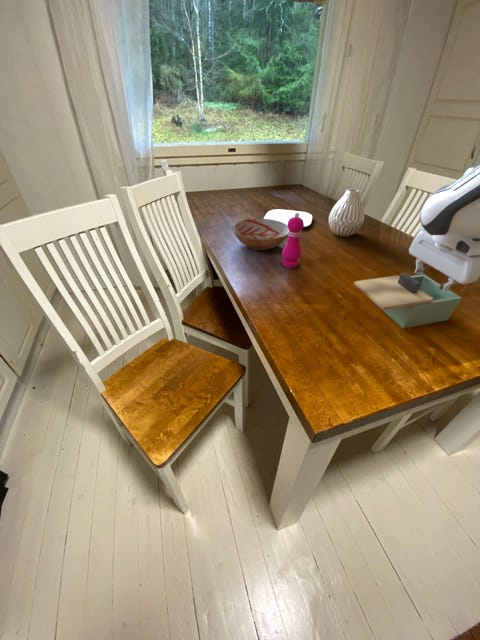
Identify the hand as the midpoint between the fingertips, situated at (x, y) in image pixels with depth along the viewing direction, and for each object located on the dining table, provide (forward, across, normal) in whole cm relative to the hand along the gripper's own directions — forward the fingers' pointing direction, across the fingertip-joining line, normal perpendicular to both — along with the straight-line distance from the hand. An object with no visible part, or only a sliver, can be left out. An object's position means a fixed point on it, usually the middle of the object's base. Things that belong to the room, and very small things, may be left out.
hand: (430, 281), depth 79 cm
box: (+10, 0, -3) cm, 10 cm away
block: (+9, 0, 0) cm, 9 cm away
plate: (+10, -86, -8) cm, 87 cm away
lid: (+2, 0, -13) cm, 13 cm away
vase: (+10, -62, +11) cm, 64 cm away
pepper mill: (+10, -38, -27) cm, 48 cm away
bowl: (+10, -58, -33) cm, 67 cm away
